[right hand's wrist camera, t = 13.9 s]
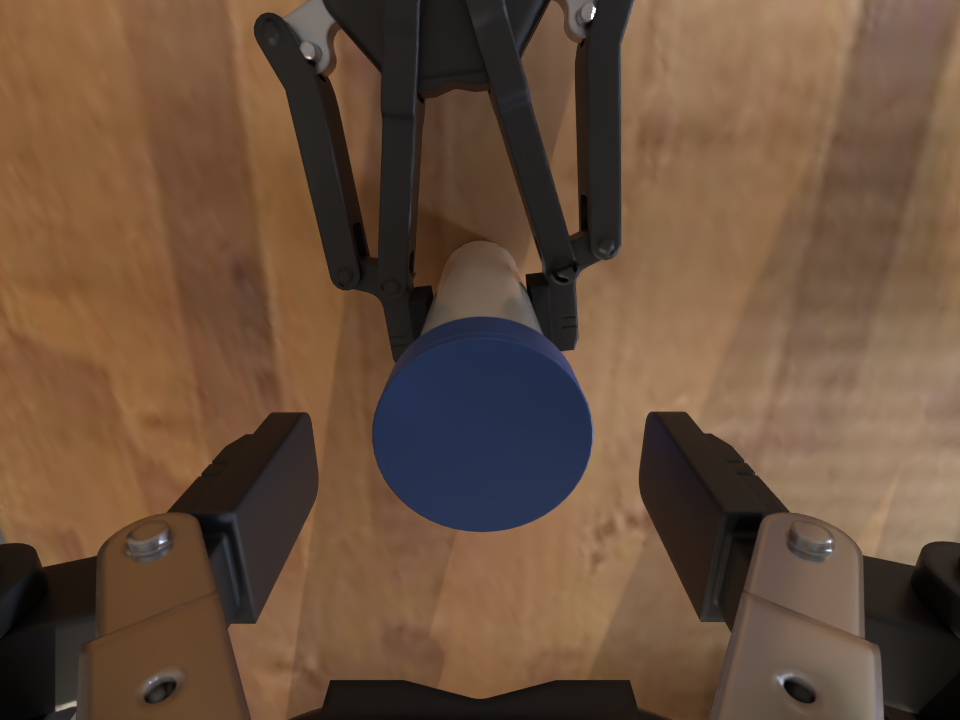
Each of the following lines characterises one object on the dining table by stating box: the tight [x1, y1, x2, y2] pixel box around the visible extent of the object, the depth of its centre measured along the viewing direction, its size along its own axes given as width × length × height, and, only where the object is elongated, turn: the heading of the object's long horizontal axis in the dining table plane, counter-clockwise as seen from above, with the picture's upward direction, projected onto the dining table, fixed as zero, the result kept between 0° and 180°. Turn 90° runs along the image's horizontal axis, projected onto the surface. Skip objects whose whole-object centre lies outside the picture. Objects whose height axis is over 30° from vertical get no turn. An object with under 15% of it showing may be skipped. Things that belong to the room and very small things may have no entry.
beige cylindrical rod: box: [420, 241, 544, 336], centre depth 21 cm, size 4×4×18 cm
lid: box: [372, 316, 593, 532], centre depth 13 cm, size 5×5×2 cm
